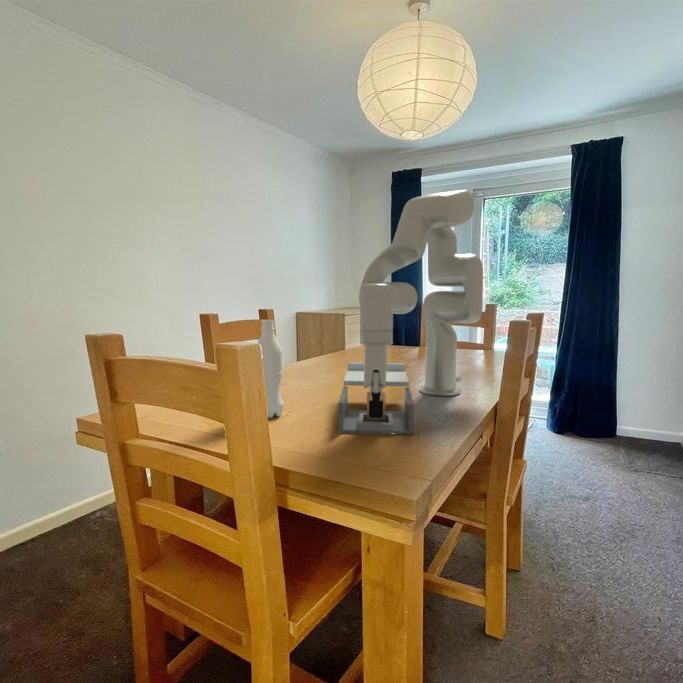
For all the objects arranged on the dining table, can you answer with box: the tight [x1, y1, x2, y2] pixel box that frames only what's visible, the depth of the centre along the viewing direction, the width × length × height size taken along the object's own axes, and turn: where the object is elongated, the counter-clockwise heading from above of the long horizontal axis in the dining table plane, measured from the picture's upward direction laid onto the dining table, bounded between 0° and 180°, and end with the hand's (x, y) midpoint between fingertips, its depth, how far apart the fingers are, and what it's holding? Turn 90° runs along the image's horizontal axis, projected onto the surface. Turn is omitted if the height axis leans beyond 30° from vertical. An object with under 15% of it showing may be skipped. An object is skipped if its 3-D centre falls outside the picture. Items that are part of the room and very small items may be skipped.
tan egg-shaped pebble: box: [366, 390, 387, 419], centre depth 97 cm, size 4×4×6 cm
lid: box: [343, 362, 410, 387], centre depth 114 cm, size 15×17×3 cm
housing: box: [337, 385, 415, 435], centre depth 100 cm, size 15×17×7 cm
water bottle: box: [256, 319, 285, 419], centre depth 105 cm, size 7×7×25 cm
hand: (375, 413), depth 97 cm, fingers closed on tan egg-shaped pebble, 4 cm apart
